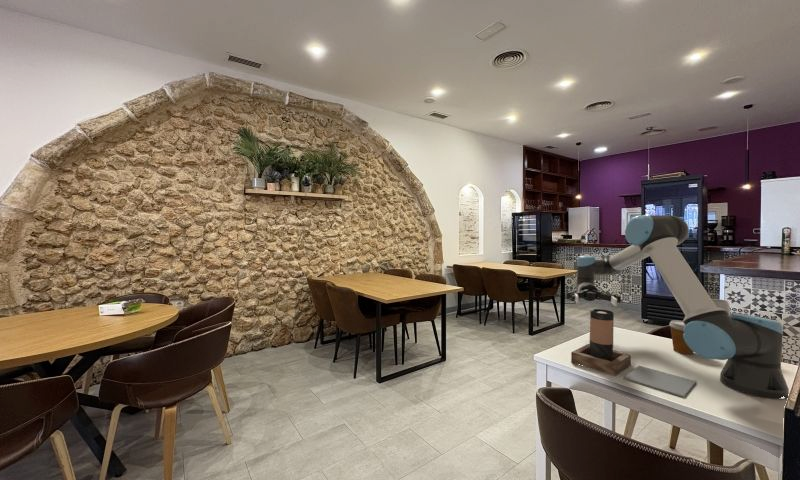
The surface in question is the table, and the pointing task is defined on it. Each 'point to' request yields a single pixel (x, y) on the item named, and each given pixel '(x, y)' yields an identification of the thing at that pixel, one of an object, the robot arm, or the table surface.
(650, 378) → the rubber mat
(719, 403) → the table surface
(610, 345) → the travel mug
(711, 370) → the table surface
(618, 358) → the frame
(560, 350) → the table surface
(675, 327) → the disposable coffee cup
